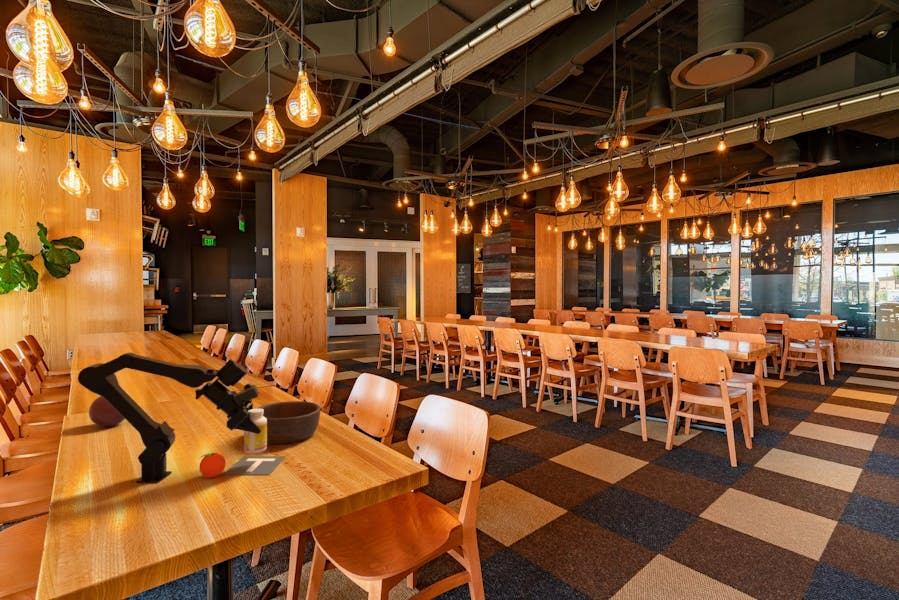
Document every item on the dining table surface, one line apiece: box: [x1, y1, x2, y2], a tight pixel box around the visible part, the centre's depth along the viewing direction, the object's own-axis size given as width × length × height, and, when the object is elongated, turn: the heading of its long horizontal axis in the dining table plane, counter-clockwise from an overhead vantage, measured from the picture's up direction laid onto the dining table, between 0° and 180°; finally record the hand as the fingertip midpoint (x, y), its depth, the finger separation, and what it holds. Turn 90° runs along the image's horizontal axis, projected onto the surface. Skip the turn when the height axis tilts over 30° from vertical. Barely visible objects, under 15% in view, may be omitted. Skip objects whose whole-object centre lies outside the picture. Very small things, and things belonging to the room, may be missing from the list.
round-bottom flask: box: [88, 395, 126, 428], centre depth 173 cm, size 13×13×20 cm
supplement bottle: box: [243, 407, 268, 454], centre depth 136 cm, size 7×7×13 cm
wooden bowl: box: [255, 400, 322, 445], centre depth 164 cm, size 25×25×10 cm
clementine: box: [198, 452, 226, 478], centre depth 128 cm, size 8×7×7 cm
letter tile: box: [222, 455, 287, 476], centre depth 137 cm, size 14×14×1 cm
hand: (260, 429), depth 137 cm, fingers closed on supplement bottle, 6 cm apart
